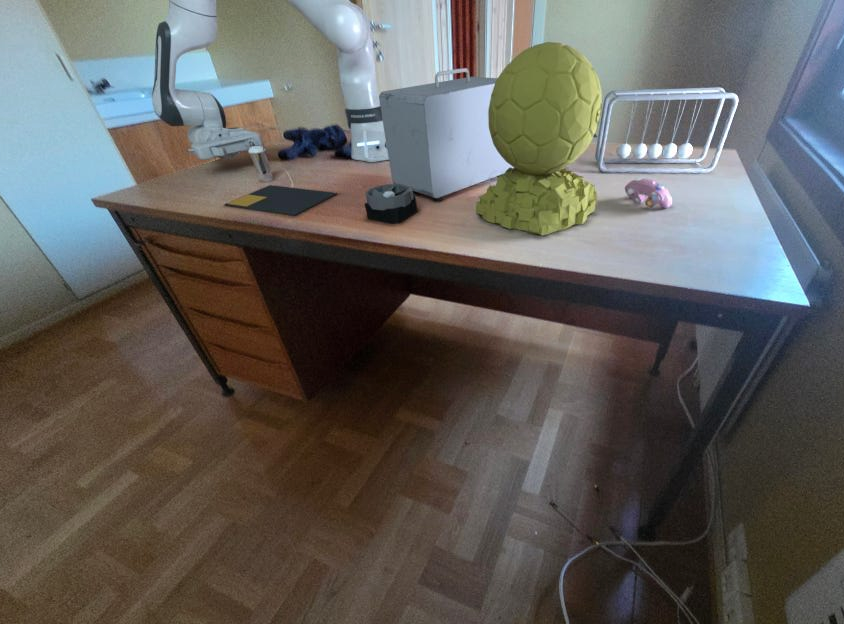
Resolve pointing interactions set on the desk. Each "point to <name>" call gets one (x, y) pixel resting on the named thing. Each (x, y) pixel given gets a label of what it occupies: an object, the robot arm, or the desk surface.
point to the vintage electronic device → (441, 135)
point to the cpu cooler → (390, 203)
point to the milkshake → (261, 162)
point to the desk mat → (281, 200)
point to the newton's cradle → (656, 148)
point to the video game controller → (648, 193)
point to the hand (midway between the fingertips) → (239, 148)
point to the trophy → (542, 139)
